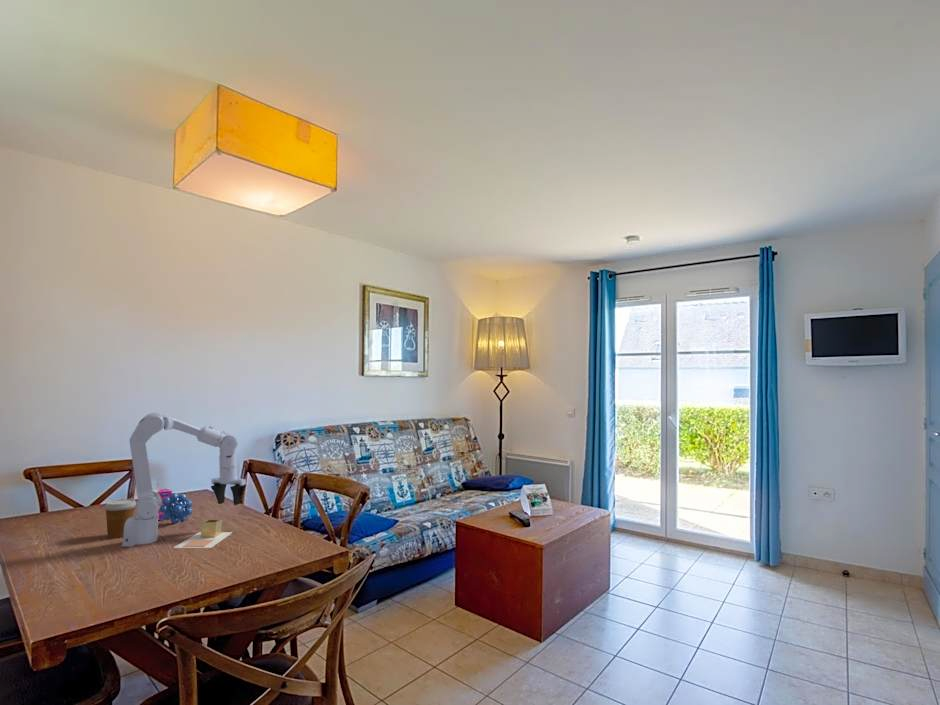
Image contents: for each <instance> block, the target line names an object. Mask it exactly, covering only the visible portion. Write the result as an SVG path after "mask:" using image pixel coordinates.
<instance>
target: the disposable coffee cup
mask: <svg viewBox="0 0 940 705" xmlns="http://www.w3.org/2000/svg"><path fill="white" fill-rule="evenodd" d="M136 503H137V501H136V500H135V499H133V498H122V499H114V500H110V501H107V502H105V505H104V509H105V516H106V517H105V518H106V530H107V532H106V533H107V538H108V537H110V538H109V539H119V538H118V537H121V538H123V534H124V525H125V522H126V520H127V519H128V518H130V517H134V512H135V507H136Z"/></svg>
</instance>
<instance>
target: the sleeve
mask: <svg viewBox="0 0 940 705" xmlns="http://www.w3.org/2000/svg"><path fill="white" fill-rule="evenodd" d="M222 524H223V519H217V518H215V519H213V518H210V519H206V520H204V521H203V522H201V525H200V526H201V527H200V532H201V537H217V536H218V535H220V534H221V532H222V527H223V525H222Z"/></svg>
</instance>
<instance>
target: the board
mask: <svg viewBox="0 0 940 705" xmlns="http://www.w3.org/2000/svg"><path fill="white" fill-rule="evenodd" d="M231 534H233V531H231V532H230V531H227V532H226V531H221V534H220V535H218V536H217V537H201V531H199V532H197V533H196V534H194V535H192V536H190V537H189V538H187V539H185V540H184V541H182V542H180V543H179V544H176V545H175V546H173V549H174V548H175V549H211V548H213V547H215V546H216V545H217V544H219V543H221V541H224V539H226V538H227V537H229V536H230V535H231Z"/></svg>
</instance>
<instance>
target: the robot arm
mask: <svg viewBox="0 0 940 705" xmlns="http://www.w3.org/2000/svg"><path fill="white" fill-rule="evenodd" d="M163 429H164V431H168V430H176V431H180V432H183V433H186V434H190V435H191V436H192V435H193V436H195V438H196V439H197V441H198V442H200V443H203V444H205V445H209V446H211V447H214V448H217V447H218V449H219V456H218V457H219V458H218V460H219V461H218V463H219V477H213V478H211V486H210V488H211V490H212V491H213V493H214V494H215V498H216V500H217V504H218V505H221V504H224V503H225V499H226V498H225V495H226V494H225V493H226V488H227V487H226V486H227V485H231V486H230V490H231V493H232V498H233V499H232V500H233V505H234V506H238V505H240V504H241V500H242V496H243V493H244V491H245V489H246V488H247V484H246V483H247V482H246V478H240V477H239V476H238V473H237V472H238V470H237V454H236V450H237V449H236V448H237V446H238V442H237V439H236V438H235V436H233V435H231V434H229V433H227V432H226V431H220V430H217V429H214V427H213V426H211V425H209V426H206V425H205V426H203V427H198V426H196V425H193V424H191V423H188V422H185V421H184V420H181V419H178V418H176V417H173V416H169V415H160V414H159V413H155V412H151V413H148V414H146V415H145V416H144V417H143V418H142V419H141V420H139V422H138V423H137V426H136V427H135V429H134V431H133V432H132V434H131V436H130V437H129V447H130V454H131V461H132V467H133V473H134V480H135V486H136V494H137V500H136V506H135V507H136V514H135V515H133V517H130V518H128V519H127V520H126V522H125V525H124V534H123V537H122V544H121V546H120V547H121V548H122V547H132V548H133V547H134V546H135V545H146V544H147V545H148V544H153V543H154V542H157V541H158V528H159V521H158V519H159V514H158V513H157V511H158V503H157V499H156V497H155V496H154V495H153V490H154V489H153V486H152V485H153V484H152V477H151V470H150V465H149V458H148V452H147V445H146V443H147V442H148V441H149V440H150V439H151V438H152V437H153V436H154V435H156V434H157V433H159V432H160V431H161V430H163Z"/></svg>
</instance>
